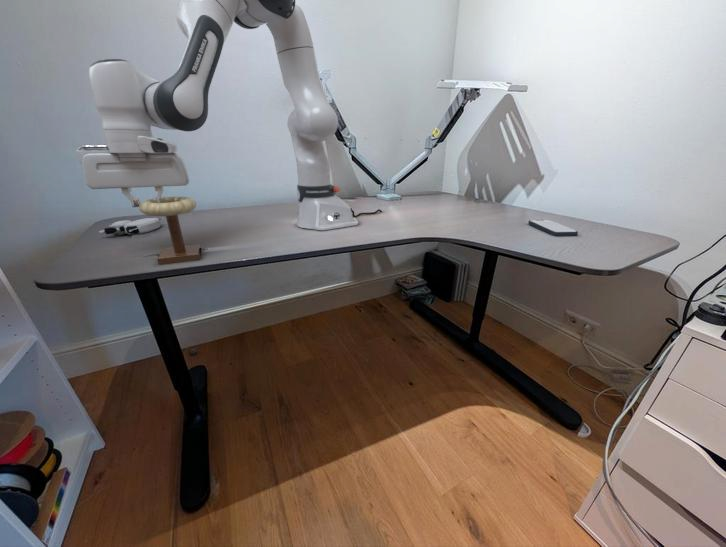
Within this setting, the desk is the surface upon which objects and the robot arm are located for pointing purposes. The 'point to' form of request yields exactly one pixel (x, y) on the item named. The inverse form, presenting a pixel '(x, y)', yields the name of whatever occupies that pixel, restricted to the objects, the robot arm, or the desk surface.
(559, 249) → the desk surface
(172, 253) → the stand
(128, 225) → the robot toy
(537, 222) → the phone case
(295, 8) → the robot arm
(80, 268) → the desk surface
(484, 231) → the desk surface
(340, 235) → the desk surface
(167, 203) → the cream ring
